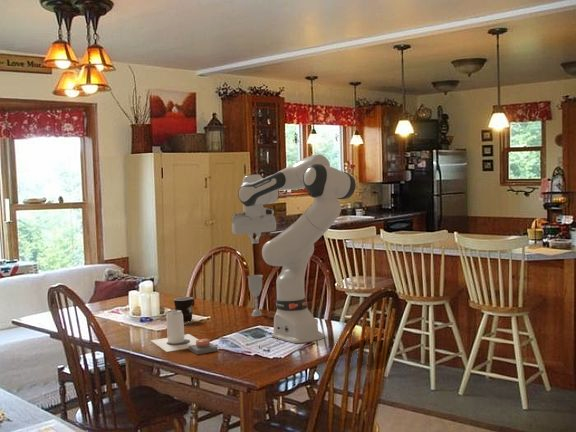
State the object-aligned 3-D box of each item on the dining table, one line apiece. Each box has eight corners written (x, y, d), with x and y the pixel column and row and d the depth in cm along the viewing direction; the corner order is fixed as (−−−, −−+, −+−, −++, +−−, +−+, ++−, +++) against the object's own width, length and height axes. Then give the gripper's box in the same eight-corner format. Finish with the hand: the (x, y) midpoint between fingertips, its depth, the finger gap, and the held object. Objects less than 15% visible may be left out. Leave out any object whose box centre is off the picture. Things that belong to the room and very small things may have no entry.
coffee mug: (181, 323, 279) (179, 301, 278) (171, 320, 286) (170, 299, 285) (203, 319, 286) (202, 297, 286) (194, 316, 293) (192, 295, 292)
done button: (211, 344, 233) (211, 340, 233) (199, 347, 231) (198, 343, 231) (206, 342, 238) (206, 338, 238) (194, 344, 235) (193, 340, 235)
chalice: (261, 312, 294) (259, 274, 293) (267, 315, 288) (265, 276, 287) (246, 314, 291) (244, 276, 290) (252, 317, 285) (250, 277, 284)
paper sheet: (207, 345, 242) (207, 343, 242) (166, 352, 234) (166, 351, 234) (188, 334, 259) (188, 333, 259) (150, 341, 251) (150, 340, 251)
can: (181, 344, 243) (179, 313, 242) (165, 344, 244) (163, 313, 243) (187, 339, 249) (185, 309, 248) (171, 339, 250) (169, 309, 250)
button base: (217, 350, 233) (217, 346, 233) (196, 354, 229) (196, 350, 229) (209, 346, 240) (209, 342, 240) (189, 349, 236) (189, 345, 236)
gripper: (234, 213, 268) (236, 246, 269) (277, 210, 278) (278, 241, 279) (228, 213, 274) (230, 244, 274) (270, 209, 283) (272, 240, 284)
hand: (254, 243), depth 277 cm, fingers closed
